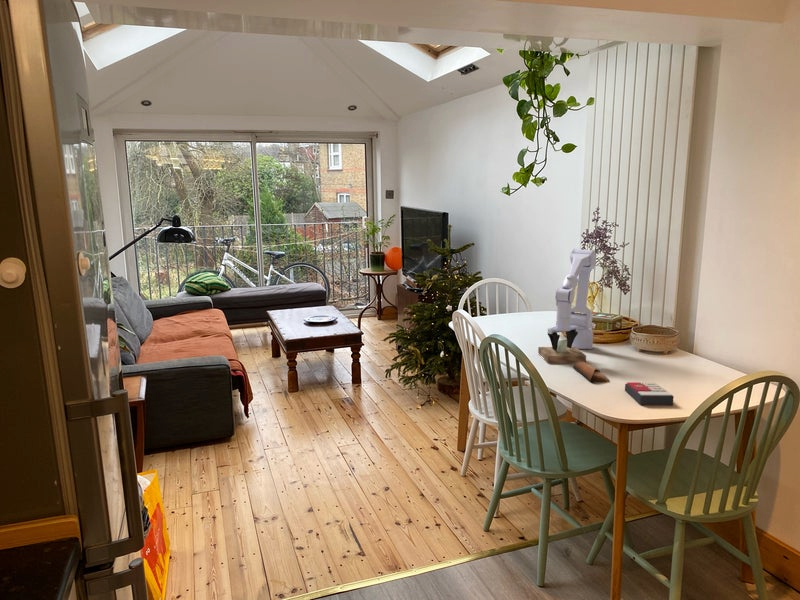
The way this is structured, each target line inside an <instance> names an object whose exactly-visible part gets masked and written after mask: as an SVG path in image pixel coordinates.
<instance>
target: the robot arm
mask: <svg viewBox="0 0 800 600" xmlns="http://www.w3.org/2000/svg"><path fill="white" fill-rule="evenodd" d="M569 257H570V258H569V259H570V263H571V266H570V269H569V273H568V274H567V275H565V276H564V278H563V281H562V283H561V285H560V288H559V289H557V290H555V291H556V292H555V305H556V320H555V325H554V326H552V327H550V328H547V335H548V338H549V339H550V344H551V347H552V349H554V350H557V348H558V340H559V339H560V337H561V335H560V334H558V333H565V336H566V340H567V347H568V348H571V347H576V348H577V349H578V350H593V349H594V347H593V346H594V345H593V344H594V330H593V329H592V327H591V326H592V324H593V311H592V310H591V309H590V308H589V307H588V305H587V303H588V295H589V294H588V293H589V287H590V278H591V272H592V270H594V269H595V268H596V263H597V262H596V261H597V253H596V251H595V250H594V249H577V248H573V249H572V250H571V252H570V256H569ZM575 290H576V291H575ZM575 295H576V297H575ZM574 299H575V305H574V306H572V303H573V302H574Z"/></svg>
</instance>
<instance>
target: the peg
mask: <svg viewBox="0 0 800 600" xmlns="http://www.w3.org/2000/svg"><path fill="white" fill-rule="evenodd" d="M557 353H567V338H559V340H558V348H557Z"/></svg>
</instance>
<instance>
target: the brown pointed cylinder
mask: <svg viewBox="0 0 800 600" xmlns="http://www.w3.org/2000/svg"><path fill="white" fill-rule="evenodd" d="M572 368H573V369H575V370H576V371H577V372H579V373H580V374H581V375H583V376H584V377H585V378H586V379H587V380H588V381H589V382H590V383H592V384H600V383H603V384H604V383H605V384H606V383H611V380H610V379H609V378H608V376H606V375H605V374H604V373H603V372H601V369H599V368H597V367H596V366H594V365H591V364H589V362H586V363H585V362H581V361H577V362H575V363H573V367H572Z"/></svg>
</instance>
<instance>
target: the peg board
mask: <svg viewBox="0 0 800 600" xmlns="http://www.w3.org/2000/svg"><path fill="white" fill-rule="evenodd" d="M537 352H538V353H539V354H540V355H541V356H542V357H543V358H544V359H543V358H542V357H541V356H540V355H539V354H538V353H537V354H538V355H539V356H540V357H541V358H542V359H543V360H544V361H545V362H546V363H547V364H574V363H575V362H577V361H581V362H585V363H587V355H586V354H585V353H583V351H581V349H577V348H576V347H571V348H568V347H567V353H557V350H554V349H552V346H542V347H541V346H538V349H537Z"/></svg>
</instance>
